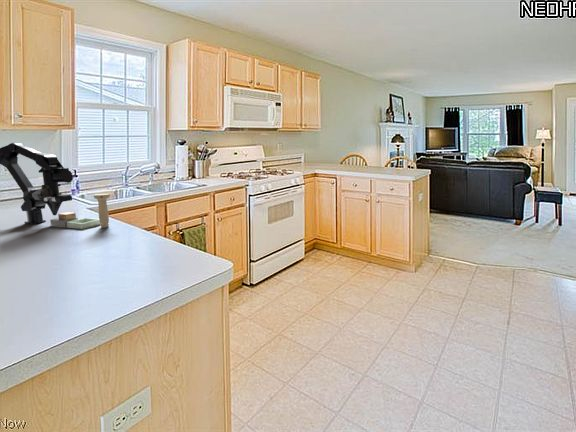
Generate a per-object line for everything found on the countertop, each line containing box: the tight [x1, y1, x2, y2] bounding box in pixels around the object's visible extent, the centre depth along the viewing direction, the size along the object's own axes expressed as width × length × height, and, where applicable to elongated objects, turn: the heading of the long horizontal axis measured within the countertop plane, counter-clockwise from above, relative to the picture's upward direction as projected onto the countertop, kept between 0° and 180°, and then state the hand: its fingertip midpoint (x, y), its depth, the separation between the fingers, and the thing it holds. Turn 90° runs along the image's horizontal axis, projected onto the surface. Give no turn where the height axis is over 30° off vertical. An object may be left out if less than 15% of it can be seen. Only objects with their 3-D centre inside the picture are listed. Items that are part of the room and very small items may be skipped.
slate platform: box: [50, 217, 79, 228], centre depth 183 cm, size 9×7×3 cm
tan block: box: [57, 211, 77, 220], centre depth 183 cm, size 5×5×2 cm
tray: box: [66, 217, 101, 230], centre depth 181 cm, size 10×10×2 cm
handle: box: [93, 193, 111, 229], centre depth 177 cm, size 5×6×15 cm
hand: (54, 215), depth 186 cm, fingers closed
